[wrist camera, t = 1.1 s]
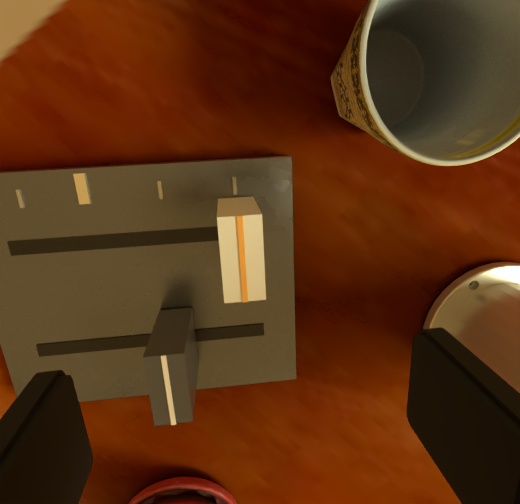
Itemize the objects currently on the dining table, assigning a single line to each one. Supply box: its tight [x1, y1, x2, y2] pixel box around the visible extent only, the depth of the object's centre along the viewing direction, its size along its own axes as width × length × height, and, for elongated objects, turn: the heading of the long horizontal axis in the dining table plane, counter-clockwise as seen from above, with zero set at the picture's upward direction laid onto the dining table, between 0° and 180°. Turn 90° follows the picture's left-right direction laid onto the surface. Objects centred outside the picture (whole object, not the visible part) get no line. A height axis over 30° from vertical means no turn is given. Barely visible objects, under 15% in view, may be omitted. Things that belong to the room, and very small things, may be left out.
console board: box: [0, 155, 296, 402], centre depth 27 cm, size 22×18×2 cm
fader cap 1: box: [143, 308, 199, 426], centre depth 25 cm, size 2×5×6 cm, turn 3°
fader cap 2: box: [217, 196, 266, 303], centre depth 23 cm, size 2×5×6 cm, turn 3°
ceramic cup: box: [331, 0, 520, 166], centre depth 21 cm, size 13×10×10 cm
